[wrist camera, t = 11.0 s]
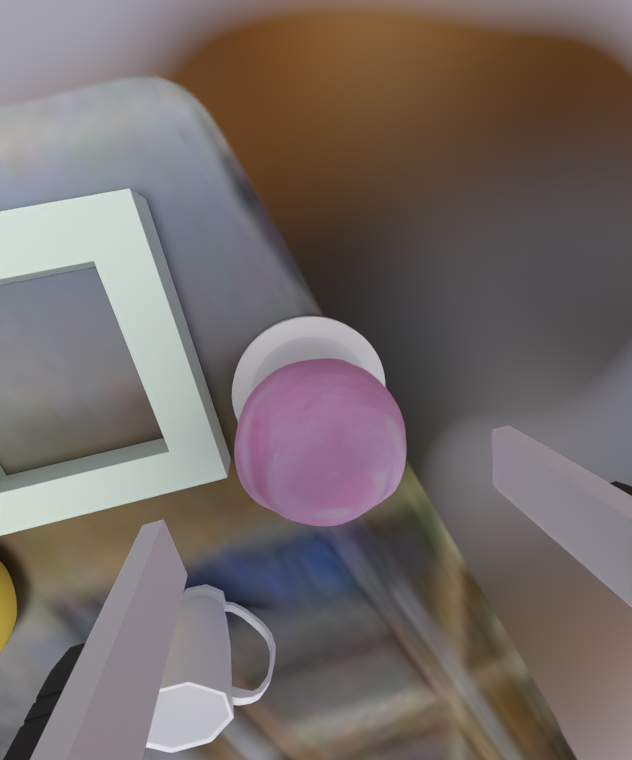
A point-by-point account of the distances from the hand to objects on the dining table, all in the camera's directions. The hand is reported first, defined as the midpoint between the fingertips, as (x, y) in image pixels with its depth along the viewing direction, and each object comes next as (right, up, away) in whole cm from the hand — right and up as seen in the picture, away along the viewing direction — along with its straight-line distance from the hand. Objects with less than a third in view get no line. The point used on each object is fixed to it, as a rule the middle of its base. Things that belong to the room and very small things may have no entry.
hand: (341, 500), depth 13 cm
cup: (-10, -15, +17) cm, 25 cm away
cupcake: (-2, +3, +10) cm, 11 cm away
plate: (-2, +4, +11) cm, 12 cm away
